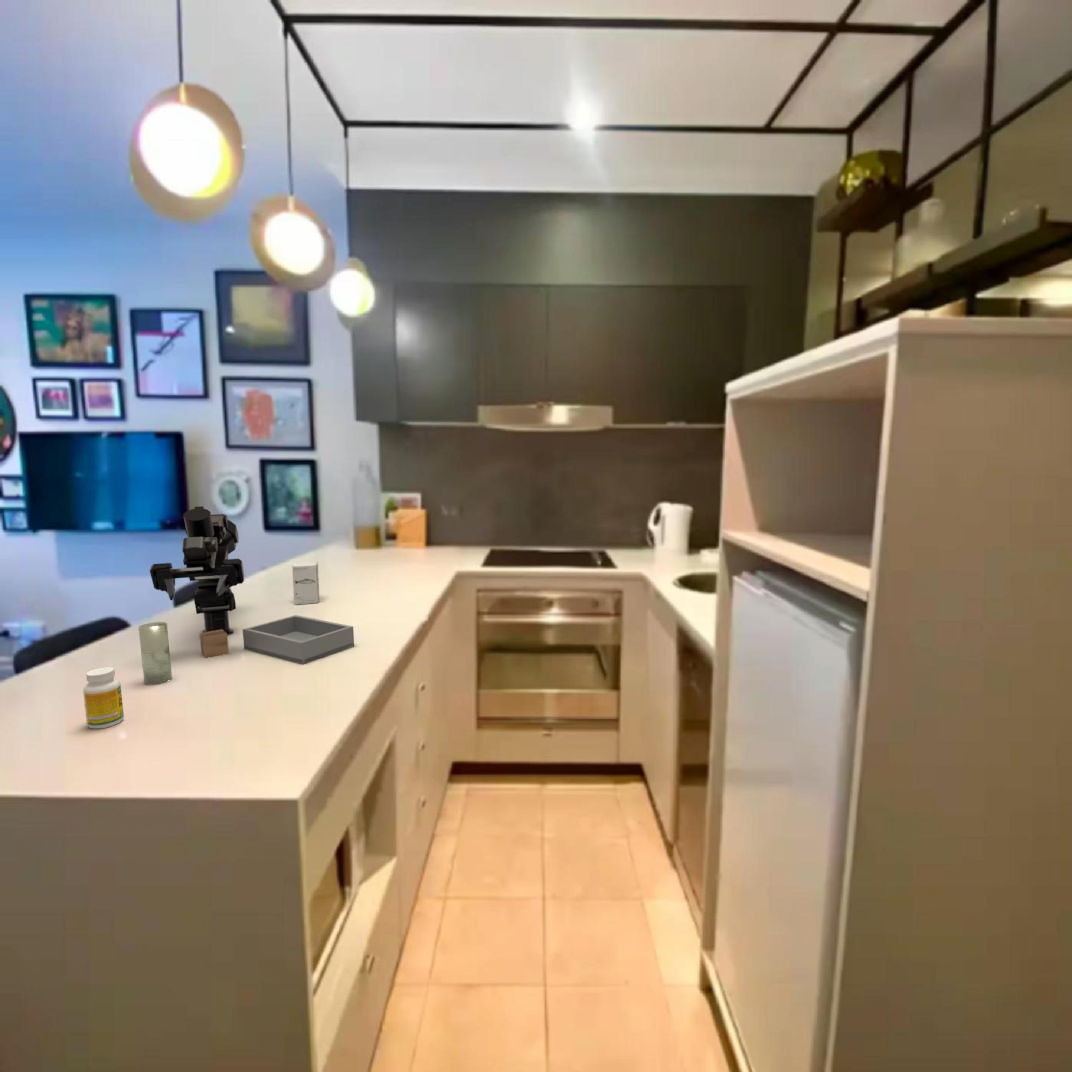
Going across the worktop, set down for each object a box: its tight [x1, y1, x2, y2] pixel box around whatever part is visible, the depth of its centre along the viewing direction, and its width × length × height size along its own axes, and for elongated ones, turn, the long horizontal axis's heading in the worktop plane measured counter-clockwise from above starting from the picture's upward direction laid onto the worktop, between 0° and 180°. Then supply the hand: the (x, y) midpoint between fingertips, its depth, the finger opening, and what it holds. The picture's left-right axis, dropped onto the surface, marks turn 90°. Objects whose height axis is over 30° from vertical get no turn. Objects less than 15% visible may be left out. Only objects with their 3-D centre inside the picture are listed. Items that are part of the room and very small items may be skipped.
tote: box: [242, 614, 355, 665], centre depth 147 cm, size 22×15×5 cm
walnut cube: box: [199, 629, 230, 659], centre depth 144 cm, size 5×5×5 cm
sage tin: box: [138, 621, 173, 685], centre depth 126 cm, size 5×5×12 cm
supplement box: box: [291, 561, 320, 606], centre depth 194 cm, size 7×7×13 cm
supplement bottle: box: [82, 666, 125, 730], centre depth 106 cm, size 5×5×10 cm
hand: (194, 596), depth 134 cm, fingers open, 9 cm apart
